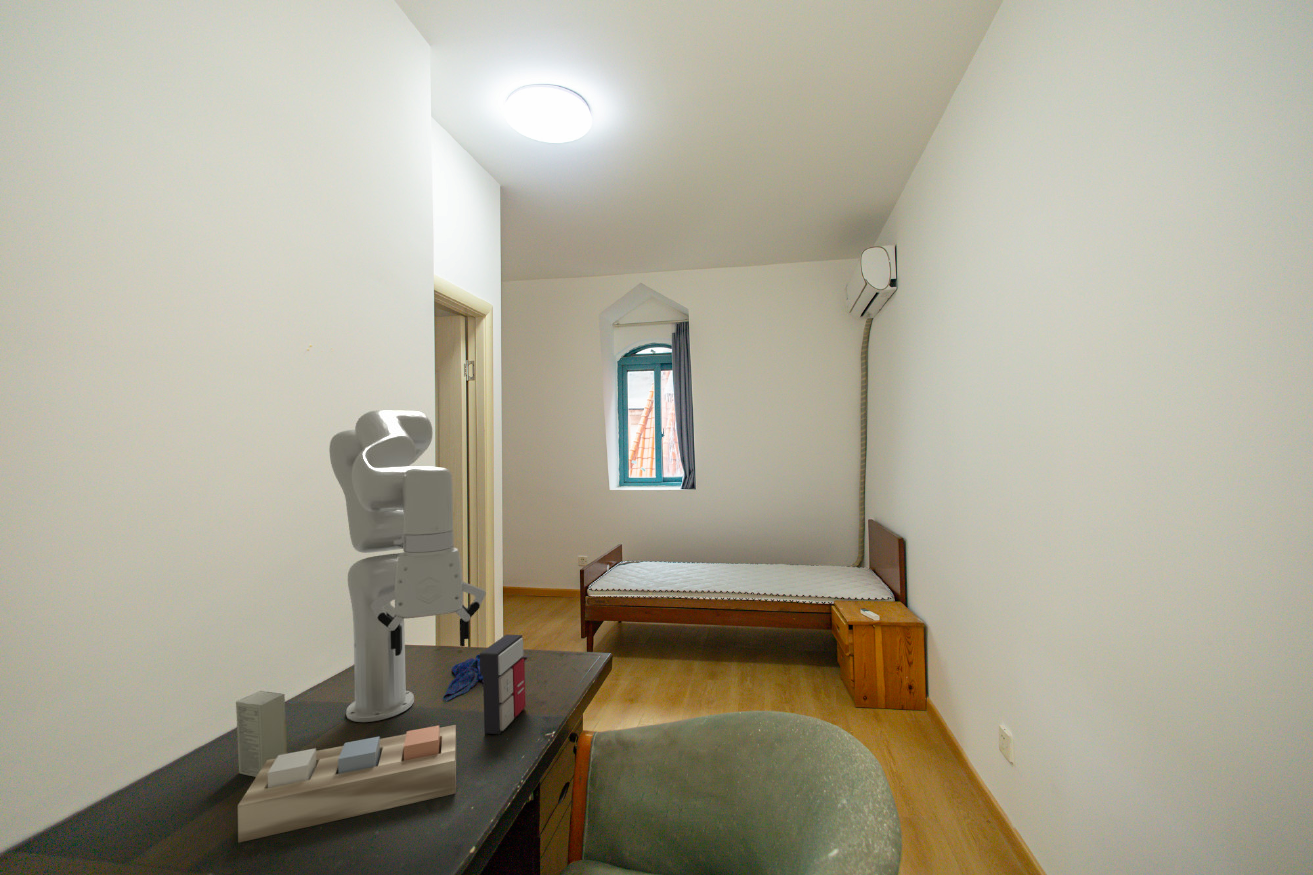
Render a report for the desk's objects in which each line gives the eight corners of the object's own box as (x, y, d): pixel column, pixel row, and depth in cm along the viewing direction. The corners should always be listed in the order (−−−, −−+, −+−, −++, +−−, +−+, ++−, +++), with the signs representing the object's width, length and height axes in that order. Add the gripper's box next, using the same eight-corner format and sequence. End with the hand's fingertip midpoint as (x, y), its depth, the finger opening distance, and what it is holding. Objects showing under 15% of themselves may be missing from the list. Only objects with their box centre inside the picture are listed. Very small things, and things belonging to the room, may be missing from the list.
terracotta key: (407, 749, 90) (406, 731, 90) (439, 743, 92) (439, 725, 92) (404, 765, 85) (403, 746, 85) (438, 758, 87) (438, 739, 87)
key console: (267, 792, 86) (267, 760, 86) (456, 753, 96) (455, 724, 96) (238, 842, 75) (237, 805, 75) (455, 793, 84) (454, 760, 84)
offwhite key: (278, 774, 84) (278, 755, 84) (316, 767, 85) (316, 748, 86) (267, 793, 79) (267, 772, 79) (307, 785, 81) (307, 765, 81)
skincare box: (288, 765, 94) (287, 693, 94) (262, 780, 89) (261, 705, 90) (262, 759, 96) (261, 689, 96) (235, 773, 92) (234, 700, 92)
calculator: (502, 735, 101) (500, 654, 102) (481, 734, 102) (479, 653, 102) (527, 708, 112) (526, 634, 112) (508, 706, 113) (506, 633, 113)
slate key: (345, 761, 87) (344, 742, 87) (380, 755, 88) (379, 736, 89) (338, 779, 82) (338, 759, 82) (375, 771, 84) (375, 751, 84)
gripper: (366, 551, 83) (368, 665, 83) (485, 541, 89) (487, 647, 88) (373, 544, 90) (375, 648, 90) (483, 535, 96) (485, 633, 95)
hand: (431, 648), depth 89 cm, fingers open, 9 cm apart
